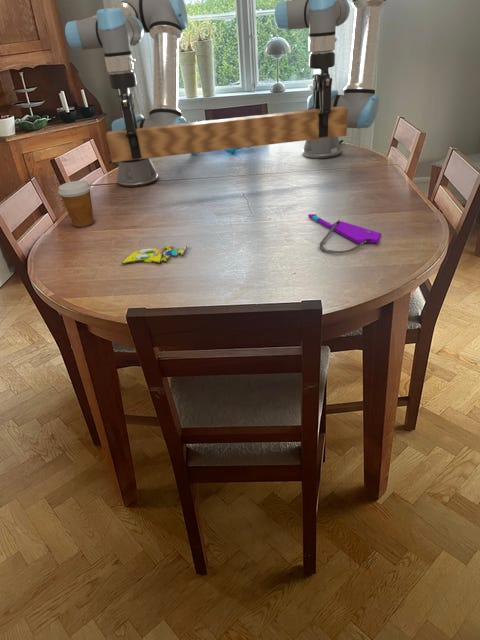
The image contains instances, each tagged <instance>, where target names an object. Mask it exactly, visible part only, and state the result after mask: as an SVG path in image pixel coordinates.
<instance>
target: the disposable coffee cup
mask: <svg viewBox="0 0 480 640" xmlns="http://www.w3.org/2000/svg"><path fill="white" fill-rule="evenodd" d="M58 195H59V196H60V197H61V199H62V201H63V203H64V206H65V208H66V211H67V213H68V215H69V218H70V221H71V223H72V225H73V227H78V228H80V227H81V228H82V227H87V226H90V225H92V224H93V223H94V221H95V220H94V213H93V211H94V210H93V203H92V196H91V195H92V194H91V185H90V184H89V182H88V181H86V180H73V181H69V182H65V183H62V184H61V185H59V186H58Z"/></svg>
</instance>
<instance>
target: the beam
mask: <svg viewBox="0 0 480 640" xmlns="http://www.w3.org/2000/svg"><path fill="white" fill-rule="evenodd" d="M347 112H348V108H346V107H344V106H339V107H331V113H330V114H329V115H328V137H320V138H319V116H318V114H320V109H311V110H307V109H303V110H295V111H284V112H275V113H267V114H258V115H257V114H256V115H247V116H239V117H230V118H220V119H209V120H201V121H192V122H187V123H182V124H173V125H164V126H154V127H145V128H136V133H137V136H138V142H139V147H140V153H141V158H134V159H132V154H131V149H130V144H129V139H128V137H126V136H125V135H127V131H126V130H118V131H112V130H109V131H107V132H106V133H105V137H106V141H107V146H108V151H109V155H110V156H109V157H110V159H111V160H112V162H116V163H119V162H120V161H129V160H137V159H146V158H150V159H153V158H163V157H171V156H181V155H191V153H196V154H200V153H207V152H215V151H225V150H226V149H235V148H241V149H244V148H243V147H245V148H248V147H249V148H252V147H260V146H269V145H270V146H271V145H277V144H279V145H280V144H285V143H286V144H287V143H295V142H296V143H297V142H303V141H306V140H314V139H323V138H332V137H338V138H339V137H347V134H348V128H347ZM199 152H200V153H199ZM111 160H110V161H111ZM112 162H111V163H112Z"/></svg>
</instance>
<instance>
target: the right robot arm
mask: <svg viewBox="0 0 480 640" xmlns="http://www.w3.org/2000/svg"><path fill="white" fill-rule="evenodd" d="M386 1H387V0H351V5H352V7H353V8H354V10H355V11H354V21H353V22H354V23H353V33H352V41H351V43H352V44H351V52H350V60H349V61H350V62H349V63H350V64H349V71H348V72H349V73H348V82H347V85H346V86H345V87H344V88H343V90H342V94H339V91H338V89H332V85H333V78H332V77H331V74H330V73H329V72H330V71H329V69H330V68H333V67H335V65H336V62H335V61H336V53H335V52H334V51H335V50H336V42H337V41H338V39H337V37H336V29H337V27H340V26H342V25H343V24H344V23H346V21H347V20H348V18H349V17H350V12H351V8H350V3H349V0H284V1H279V2H278V3H277V4H276V6H275V8H274V23H275V26H276V27H277V29H278V30H281V31H286V30H287V31H290V30H302V29H303V30H305V29H308V31H309V32H308V52H309V53H310V54H309V55H308V66H309V69H313V70H314V74H312V75H311V79H312V94H311V95H310V96H308V98H307V106H306V110H311V109H320V114H318V116H319V138H320V137H328V115H329V114H330V113H331V107H339V106H344V107H346V108H348V112H347V129H358V130H359V129H368V128H370V127H372V125H373V123H374V122H375V119H376V116H377V114H378V110H379V105H380V97H379V95H378V94H377V93H376V88H375V87H374V86H373V77H374V67H375V60H376V59H375V58H376V50H377V42H378V34H379V25H380V24H379V23H380V16H381V10H382V8H383V7H384V6H385V5H386V3H387V2H386ZM343 142H344V140H343V139H341V140H339V137H332V138H323V139H314V140H305V142H304V144H303V148H302V155H303V156H304V157H305V158H307V159H315V160H316V159H319V160H321V159H322V160H323V159H331V158H334V157H337V156H340V155H341V152H342V148H341V144H342V143H343Z"/></svg>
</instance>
